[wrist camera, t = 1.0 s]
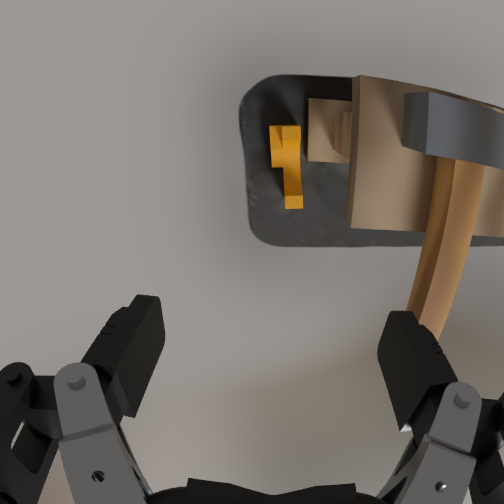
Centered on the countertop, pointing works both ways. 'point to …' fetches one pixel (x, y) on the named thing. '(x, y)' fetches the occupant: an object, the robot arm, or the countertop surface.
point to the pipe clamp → (288, 161)
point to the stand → (389, 159)
